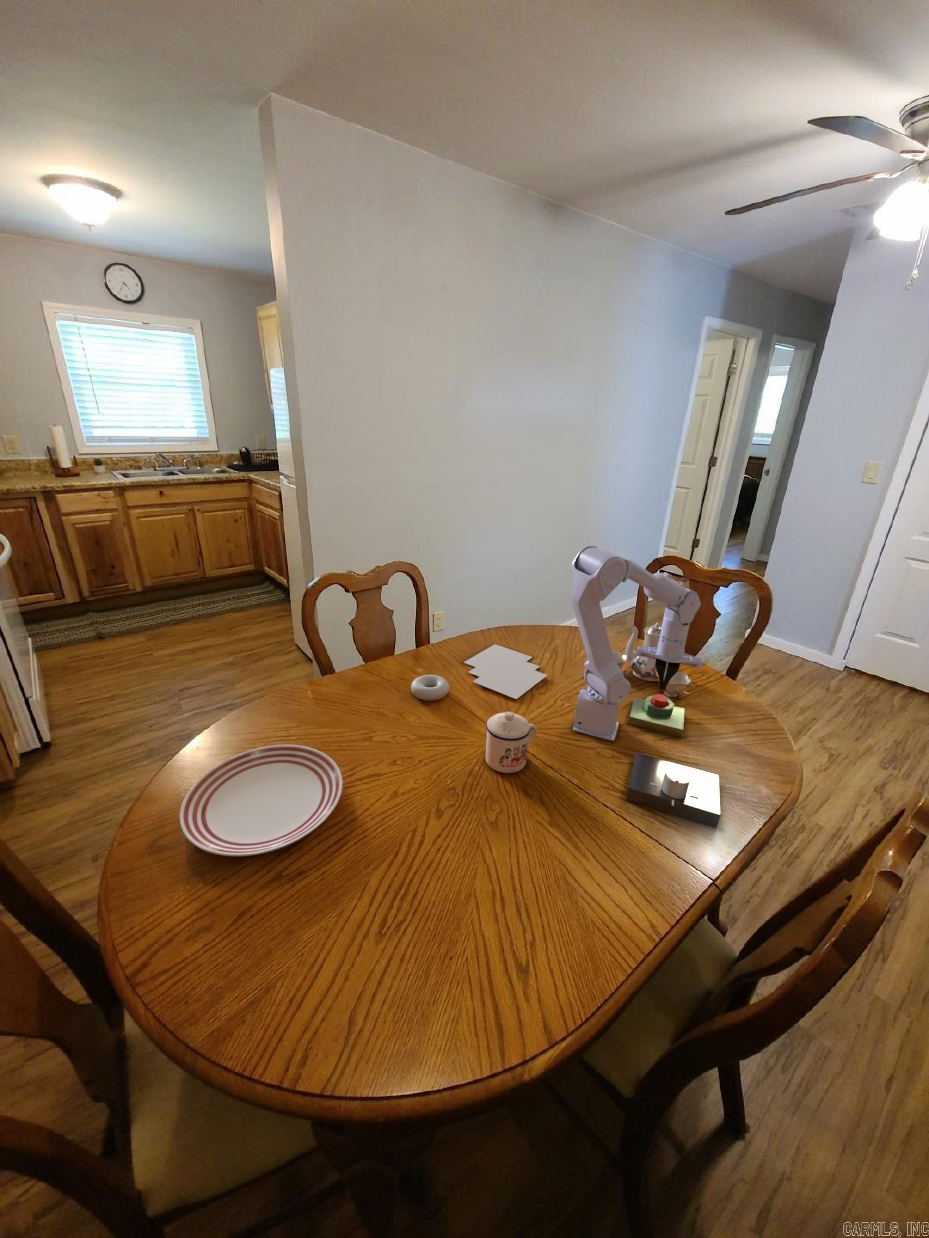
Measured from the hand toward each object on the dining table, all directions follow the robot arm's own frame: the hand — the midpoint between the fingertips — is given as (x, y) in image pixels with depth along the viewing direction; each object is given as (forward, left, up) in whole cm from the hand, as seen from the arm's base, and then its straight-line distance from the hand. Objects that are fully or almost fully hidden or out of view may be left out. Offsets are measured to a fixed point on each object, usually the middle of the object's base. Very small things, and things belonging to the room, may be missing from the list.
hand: (662, 687), depth 121 cm
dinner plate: (-63, -65, -8) cm, 91 cm away
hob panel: (+5, -28, -8) cm, 30 cm away
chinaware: (-5, +19, -8) cm, 21 cm away
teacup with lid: (-27, -32, -8) cm, 43 cm away
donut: (-55, -16, -8) cm, 58 cm away
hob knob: (+5, -31, -5) cm, 32 cm away
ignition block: (0, -2, -8) cm, 8 cm away
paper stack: (-42, +5, -8) cm, 43 cm away
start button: (0, 0, -4) cm, 4 cm away
